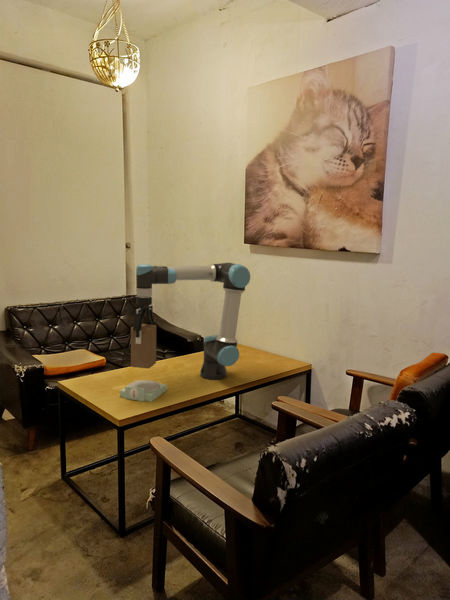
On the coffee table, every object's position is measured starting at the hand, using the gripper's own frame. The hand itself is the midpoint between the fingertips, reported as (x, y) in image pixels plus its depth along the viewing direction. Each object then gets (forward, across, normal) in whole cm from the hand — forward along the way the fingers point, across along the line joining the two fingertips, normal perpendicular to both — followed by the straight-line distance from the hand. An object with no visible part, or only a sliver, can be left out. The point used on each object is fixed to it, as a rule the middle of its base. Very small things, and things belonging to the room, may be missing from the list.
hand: (143, 341), depth 223 cm
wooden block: (+13, 0, 0) cm, 13 cm away
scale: (+27, 0, 0) cm, 27 cm away
